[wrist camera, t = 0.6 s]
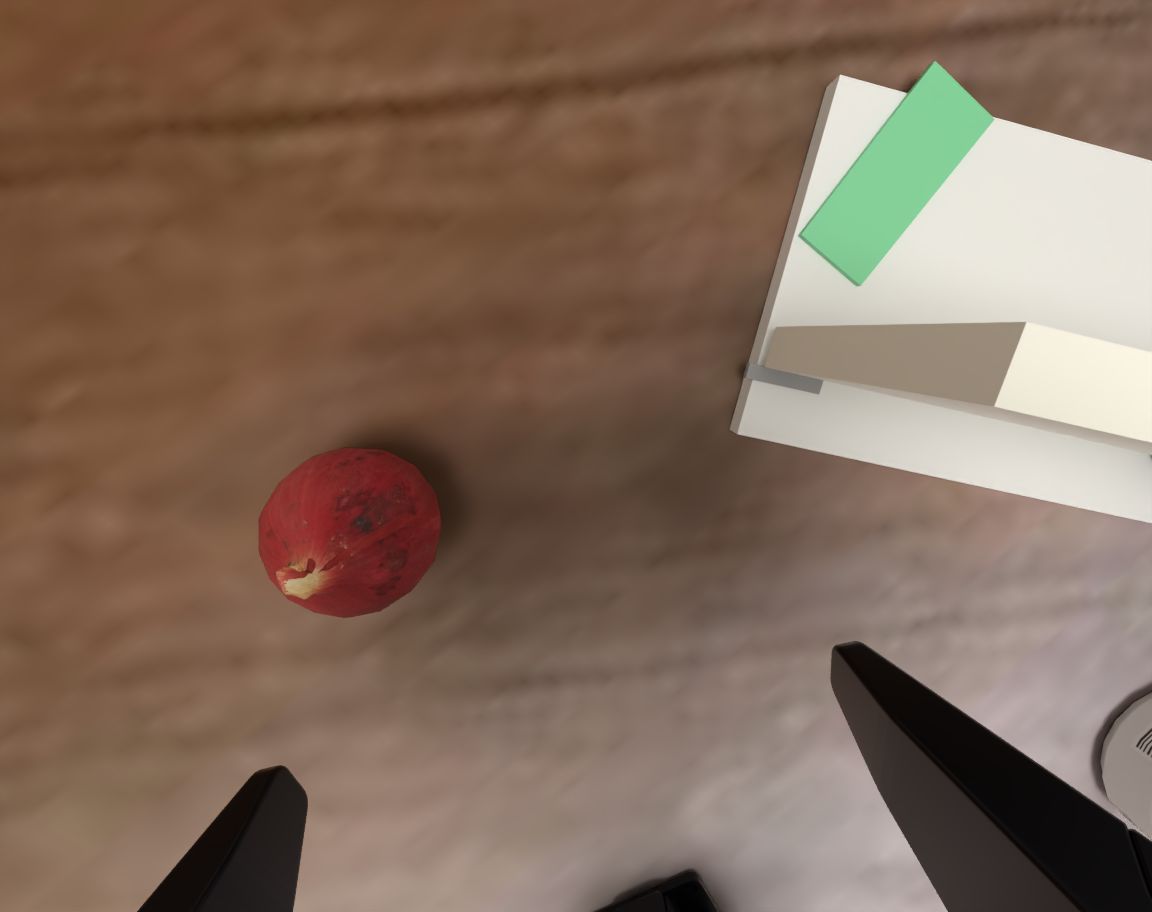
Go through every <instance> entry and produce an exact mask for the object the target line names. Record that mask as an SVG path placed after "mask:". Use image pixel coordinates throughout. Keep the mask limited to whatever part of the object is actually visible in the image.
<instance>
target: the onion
mask: <svg viewBox="0 0 1152 912" xmlns="http://www.w3.org/2000/svg"><path fill="white" fill-rule="evenodd" d="M441 525H442V521H441V516H440V511H439V506H438V501H437V496H436V492H435V491H434V490H433V488H432V487H431V486H430V484H429V483H428V482H427V481H426V479H425V478H424V477H423V475H422V474H421V473H420V471H419V470H418V469H417V467H416V466H414V465H412V464H411V463H409V462H407V461H405V460H403V459H401V458H399V457H398V456H396V455H394V454H392V453H390V452H388V451H387V450H375V449H361V448H346V447H345V448H341V449H338V450H334V451H330V452H327V453H323V454H320V455H316V456H313V457H311V458H310V459H308V460H306V461H305V462H303V463H302V464H301V465H300V466H299V467H297V468H296V469H295V470H294V471H293V472H291V473H290V474H289V475H288V476H287V477H285V478H284V479H283V480H282V481H281V482H279V483H278V485H277V487H276V488H275V490H274V492H273V493H272V495H271V497H270V498H269V500H268V502H267V503H266V505H265V507H264V508H263V510H262V512H261V514H260V517H259V553H260V557H261V559H262V562H263V564H264V566H265V569H266V571H267V573H268V576H269V578H270V580H271V581H272V582H273V583H274V584H275V585H276V586H277V588H278V589H279V590H280V591H281V592H282V593H283V594H284V595H285V596H286V598H287V599H288V600H290V601H292V602H294V603H296V604H298V605H300V606H302V607H304V608H307V609H309V610H311V611H313V612H315V613H320V614H325V615H331V616H337V617H342V618H347V617H354V616H359V615H364V614H369V613H374V612H378V611H381V610H383V609H384V608H386V607H388V606H389V605H391V604H392V603H394V602H395V601H397V600H398V599H400V598H401V597H403V596H404V595H406V594H407V593H409V592H410V591H411V590H412V589H413V588H414V587H415V586H416V585H417V583H418V582H419V581H420V580H421V578H422V577H423V575H424V574H425V573H426V571H427V570H428V569H429V567H430V566H431V565H432V563H433V562H434V560H435V555H436V550H437V545H438V540H439V535H440V530H441Z"/></svg>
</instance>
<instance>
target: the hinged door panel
mask: <svg viewBox="0 0 1152 912" xmlns="http://www.w3.org/2000/svg"><path fill="white" fill-rule="evenodd" d="M765 367H766V368H771V369H775V370H780V371H784V372H788V373H793V374H797V375H802V376H806V377H811V378H815V379H819V380H824V381H828V382H833V383H837V384H841V385H846V386H850V387H855V388H859V389H863V390H868V391H872V392H877V393H881V394H886V395H890V396H894V397H899V398H903V399H908V400H912V401H916V402H921V403H925V404H930V405H934V406H938V407H943V408H947V409H952V410H956V411H961V412H965V413H969V414H974V415H978V416H983V417H987V418H991V419H996V420H1000V421H1005V422H1009V423H1013V424H1018V425H1022V426H1027V427H1031V428H1036V429H1040V430H1044V431H1049V432H1053V433H1058V434H1062V435H1066V436H1071V437H1075V438H1080V439H1084V440H1088V441H1093V442H1097V443H1102V444H1106V445H1111V446H1115V447H1119V448H1124V449H1128V450H1133V451H1137V452H1141V453H1146V454H1150V455H1151V456H1152V352H1148V351H1144V350H1140V349H1136V348H1132V347H1127V346H1123V345H1119V344H1115V343H1111V342H1107V341H1103V340H1099V339H1095V338H1091V337H1086V336H1082V335H1078V334H1074V333H1070V332H1066V331H1062V330H1058V329H1054V328H1050V327H1046V326H1041V325H1037V324H1033V323H1029V322H995V323H943V324H891V325H839V326H787V327H776V329H775V332H774V336H773V339H772V343H771V346H770V350H769V353H768V356H767V360H766V363H765Z"/></svg>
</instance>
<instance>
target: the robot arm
mask: <svg viewBox="0 0 1152 912" xmlns="http://www.w3.org/2000/svg"><path fill="white" fill-rule="evenodd" d="M831 685H832V688H833V691H834V694H835V696H836V698H837V701H838V703H839V705H840V707H841V709H842V712H843V714H844V716H845V718H846V720H847V723H848V725H849V727H850V729H851V731H852V734H853V736H854V738H855V740H856V742H857V745H858V747H859V749H860V751H861V753H862V756H863V758H864V760H865V762H866V764H867V767H868V769H869V771H870V773H871V775H872V777H873V780H874V782H875V784H876V786H877V788H878V790H879V792H880V794H881V796H882V798H883V799H884V801H885V803H886V805H887V807H888V808H889V810H890V812H891V814H892V815H893V817H894V819H895V821H896V822H897V824H898V826H899V827H900V829H901V831H902V833H903V834H904V836H905V838H906V840H907V841H908V843H909V845H910V847H911V848H912V850H913V852H914V853H915V855H916V857H917V859H918V860H919V862H920V864H921V866H922V867H923V869H924V871H925V873H926V874H927V876H928V878H929V879H930V881H931V883H932V885H933V886H934V888H935V890H936V892H937V893H938V895H939V897H940V898H941V900H942V902H943V904H944V905H945V907H946V909H947V911H948V912H1152V841H1150V840H1149V839H1147V838H1146V837H1145V836H1143V835H1142V834H1140V833H1139V832H1137V831H1136V830H1134V829H1129V830H1128V828H1127V826H1126V824H1125V823H1124V822H1122V821H1121V820H1119V819H1118V818H1117V817H1115V816H1114V815H1112V814H1111V813H1109V812H1108V811H1106V810H1105V809H1103V808H1102V807H1101V806H1099V805H1098V804H1096V803H1095V802H1093V801H1092V800H1090V799H1089V798H1087V797H1086V796H1085V795H1083V794H1082V793H1080V792H1079V791H1077V790H1076V789H1074V788H1073V787H1071V786H1070V785H1069V784H1067V783H1066V782H1064V781H1063V780H1061V779H1060V778H1058V777H1057V776H1056V775H1054V774H1053V773H1051V772H1050V771H1048V770H1047V769H1045V768H1044V767H1042V766H1041V765H1040V764H1038V763H1037V762H1035V761H1034V760H1032V759H1031V758H1029V757H1028V756H1026V755H1025V754H1024V753H1022V752H1021V751H1019V750H1018V749H1016V748H1015V747H1013V746H1012V745H1010V744H1009V743H1008V742H1006V741H1005V740H1003V739H1002V738H1000V737H999V736H997V735H996V734H994V733H993V732H992V731H990V730H989V729H987V728H986V727H984V726H983V725H981V724H980V723H978V722H977V721H976V720H974V719H973V718H971V717H970V716H968V715H967V714H965V713H964V712H962V711H961V710H960V709H958V708H957V707H955V706H954V705H952V704H951V703H949V702H948V701H946V700H945V699H944V698H942V697H941V696H939V695H938V694H936V693H935V692H933V691H932V690H930V689H929V688H928V687H926V686H925V685H923V684H922V683H920V682H919V681H917V680H916V679H915V678H913V677H912V676H910V675H909V674H907V673H906V672H904V671H903V670H901V669H900V668H899V667H897V666H896V665H894V664H893V663H891V662H890V661H888V660H887V659H885V658H884V657H883V656H881V655H880V654H878V653H877V652H875V651H874V650H872V649H871V648H869V647H868V646H867V645H865V644H863V643H861V642H858V641H853V642H848V643H843V644H839V645H835V646H834V647H833V649H832V658H831ZM307 809H308V799H307V795H306V792H305V790H304V789H303V787H302V786H301V785H300V784H299V782H298V781H297V780H296V779H295V777H294V776H293V775H292V774H291V772H290V771H289V770H288V769H287V768H286V767H285V766H282V765H279V766H274V767H270V768H265V769H261V770H259V771H257V772H255V773H254V774H253V775H252V776H251V777H250V778H249V779H248V781H247V782H246V783H245V784H244V785H243V786H242V788H241V789H240V790H239V791H238V792H237V794H236V795H235V796H234V797H233V798H232V800H231V801H230V802H229V803H228V804H227V805H226V807H225V808H224V809H223V810H222V811H221V813H220V814H219V815H218V816H217V817H216V819H215V820H214V821H213V822H212V823H211V824H210V826H209V827H208V828H207V829H206V830H205V832H204V833H203V834H202V835H201V836H200V838H199V839H198V840H197V841H196V842H195V843H194V845H193V846H192V847H191V848H190V849H189V851H188V852H187V853H186V854H185V855H184V857H183V858H182V859H181V860H180V861H179V862H178V864H177V865H176V866H175V867H174V868H173V870H172V871H171V872H170V873H169V874H168V876H167V877H166V878H165V879H164V880H163V881H162V883H161V884H160V885H159V886H158V887H157V889H156V890H155V891H154V892H153V893H152V895H151V896H150V897H149V898H148V899H147V900H146V902H145V903H144V904H143V905H142V906H141V908H140V909H139V910H138V911H137V912H293V907H294V901H295V895H296V888H297V881H298V873H299V866H300V859H301V852H302V845H303V838H304V831H305V823H306V816H307ZM603 912H720V911H719V909H718V907H717V905H716V904H715V902H714V900H713V899H712V897H711V895H710V894H709V892H708V890H707V889H706V887H705V885H704V884H703V882H702V880H701V879H700V877H699V876H698V875H697V874H695V873H687V874H685V875H683V876H680V877H678V878H676V879H674V880H671V881H669V882H667V883H665V884H663V885H660V886H658V887H656V888H654V889H651V890H649V891H647V892H645V893H643V894H640V895H638V896H636V897H634V898H632V899H629V900H627V901H625V902H623V903H620V904H618V905H616V906H614V907H612V908H609V909H607V910H605V911H603Z"/></svg>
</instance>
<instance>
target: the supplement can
mask: <svg viewBox="0 0 1152 912" xmlns="http://www.w3.org/2000/svg"><path fill="white" fill-rule="evenodd" d="M1100 764H1101V767H1102V771H1103V774H1102V778H1103V782H1104V785H1105V789H1106V793H1107V797H1108V799H1109V800H1110V801H1111V802H1112V804H1113V805H1114V806H1115V807H1116V808H1117V809H1118V810H1119V811H1120V813H1121V814H1122V815H1123V816H1124V817H1126V818H1127V819H1128V820H1129V821H1130V822H1131V823H1133V824H1134V825H1135V826H1136V827H1137V828H1138V829H1140V830H1141V831H1142V832H1143V833H1144V834H1145V835H1147V836H1148V837H1149V838H1150V839H1151V840H1152V692H1151V693H1150V694H1148V695H1146V696H1144V697H1142V698H1141V699H1139V700H1137V701H1135V702H1134V703H1133V704H1132V705H1131V706H1130V707H1129V708H1128V709H1127V710H1126V711H1124V712H1123V713H1122V714H1121V715H1120V716H1119V717H1118V718H1117V719H1116V720H1115V722H1114V724H1113V726H1112V727H1111V729H1110V731H1109V733H1108V735H1107V736H1106V738H1105V740H1104V743H1103V749H1102V755H1101V761H1100Z"/></svg>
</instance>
